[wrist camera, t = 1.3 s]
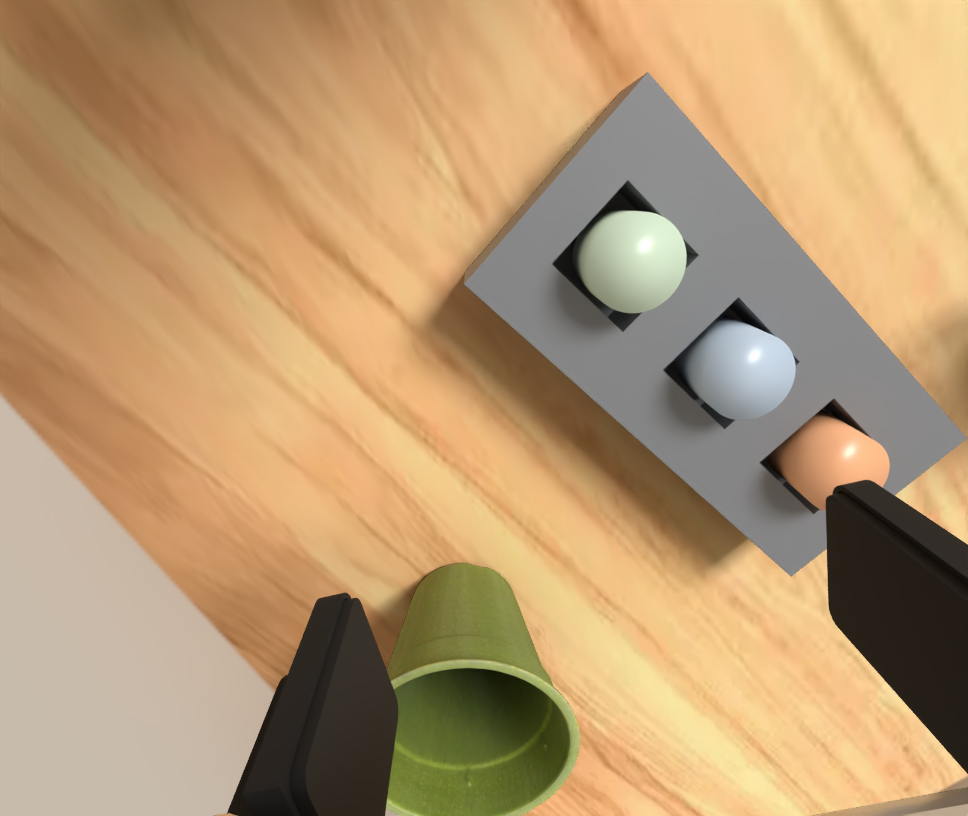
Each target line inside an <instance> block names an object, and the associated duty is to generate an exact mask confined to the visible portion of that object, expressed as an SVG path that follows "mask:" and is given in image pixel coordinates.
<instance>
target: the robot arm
mask: <svg viewBox="0 0 968 816" xmlns="http://www.w3.org/2000/svg"><path fill="white" fill-rule="evenodd" d="M826 535H827V568H828V601H829V611H830V614H831V616H832V619H833V621H834V622H835V624H836V625H837V627H838V628H839V629H840V630H841V631H842V632H843V634H844V635H845V636H846V637H847V638H848V639H849V640H850V641H851V643H852V644H853V645H854V646H855V647H856V648H857V649H858V651H859V652H860V653H861V654H862V655H863V656H864V657H865V658H866V660H867V661H868V662H869V663H870V664H871V665H872V666H873V667H874V669H875V670H876V671H877V672H878V673H879V674H880V675H881V676H882V678H883V679H884V680H885V681H886V682H887V683H888V684H889V685H890V687H891V688H892V689H893V690H894V691H895V692H896V693H897V695H898V696H899V697H900V698H901V699H902V700H903V701H904V702H905V704H906V705H907V706H908V707H909V708H910V709H911V710H912V711H913V713H914V714H915V715H916V716H917V717H918V718H919V719H920V720H921V722H922V723H923V724H924V725H925V726H926V727H927V728H928V729H929V731H930V732H931V733H932V734H933V735H934V736H935V737H936V739H937V740H938V741H939V742H940V743H941V744H942V745H943V746H944V748H945V749H946V750H947V751H948V752H949V753H950V754H951V755H952V757H953V758H954V759H955V760H956V761H957V762H958V763H959V764H960V766H961V767H962V768H963V769H964V770H965V771H966V772H967V773H968V545H967V544H966V543H964V542H963V541H961V540H960V539H958V538H957V537H955V536H954V535H952V534H951V533H949V532H948V531H946V530H945V529H943V528H942V527H941V526H939V525H938V524H936V523H935V522H933V521H932V520H930V519H929V518H927V517H926V516H924V515H923V514H921V513H920V512H918V511H917V510H915V509H914V508H912V507H911V506H909V505H908V504H906V503H905V502H903V501H902V500H900V499H899V498H897V497H896V496H894V495H893V494H891V493H890V492H888V491H887V490H885V489H884V488H882V487H881V486H879V485H878V484H876V483H875V482H873V481H871V480H862V481H857V482H853V483H848V484H843V485H839V486H836V487H835V488H834V490H833V494H832V495H829V496H828V497H827V498H826ZM397 723H398V701H397V697H396V694H395V691H394V689H393V686H392V683H391V681H390V678H389V675H388V673H387V670H386V667H385V665H384V662H383V660H382V657H381V654H380V652H379V649H378V646H377V644H376V641H375V638H374V636H373V633H372V631H371V628H370V625H369V623H368V620H367V617H366V615H365V612H364V609H363V607H362V604H361V602H360V600H359V599H358V598H353V599H351V597H350V596H349V594H348V593H341V594H337V595H332V596H328V597H323V598H319V599H318V600H317V601H316V603H315V606H314V608H313V611H312V614H311V616H310V619H309V621H308V624H307V627H306V629H305V632H304V634H303V637H302V640H301V642H300V645H299V647H298V650H297V653H296V655H295V658H294V660H293V663H292V666H291V668H290V671H289V673H288V675H286V676H285V677H283V678H282V679H281V681H280V683H279V685H278V686H277V689H276V691H275V694H274V696H273V699H272V701H271V704H270V707H269V709H268V712H267V714H266V717H265V719H264V722H263V724H262V727H261V729H260V732H259V734H258V737H257V740H256V742H255V744H254V747H253V749H252V752H251V754H250V757H249V760H248V762H247V764H246V767H245V770H244V772H243V775H242V777H241V780H240V782H239V784H238V787H237V790H236V792H235V794H234V797H233V800H232V802H231V805H230V807H229V810H228V812H227V814H219V815H214V816H385V811H386V804H387V796H388V789H389V781H390V774H391V767H392V759H393V752H394V745H395V737H396V730H397ZM812 816H968V787H967V788H961V789H956V790H950V791H944V792H939V793H933V794H928V795H922V796H917V797H911V798H906V799H900V800H895V801H889V802H884V803H878V804H873V805H867V806H862V807H856V808H851V809H845V810H840V811H834V812H828V813H823V814H817V815H812Z"/></svg>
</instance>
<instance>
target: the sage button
mask: <svg viewBox="0 0 968 816" xmlns="http://www.w3.org/2000/svg"><path fill="white" fill-rule="evenodd" d="M686 256H687V254H686V247H685V243H684V240H683V238H682V236H681V234H680V232H679V231H678V229H677V228H676V227H675V226H674V225H673V224H672V223H671V222H670V221H669V220H667V219H666V218H664V217H662V216H660V215H658V214H655V213H651V212H642V211H628V210H613V211H608V212H604V213H602V214H600V215H598V216H596V217H594V218H593V219H592V220H591V221H590V222H589V223H588V224H587V225H586V227H585V228H584V229H583V230H582V231H581V232H580V233H579V235H578V237H577V239H576V241H575V244H574V247H573V254H572V263H573V269H574V272H575V275H576V277H577V279H578V281H579V282H580V283H581V285H582V286H583V287H584V288H585V289H586V290H587V291H589V292H590V293H591V294H593V295H594V296H595V297H596V298H598V299H599V300H600V301H602V302H603V303H604V304H605V305H607V306H609V307H610V308H612V309H614V310H616V311H620V312H624V313H641V312H645V311H649V310H651V309H654V308H656V307H657V306H659V305H661V304H662V303H664V302H665V301H666V300H667V299H668V298H669V297H670V296H671V295H672V294H673V293H674V292H675V290H676V289H677V288H678V286H679V284H680V282H681V280H682V278H683V275H684V272H685V268H686Z"/></svg>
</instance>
